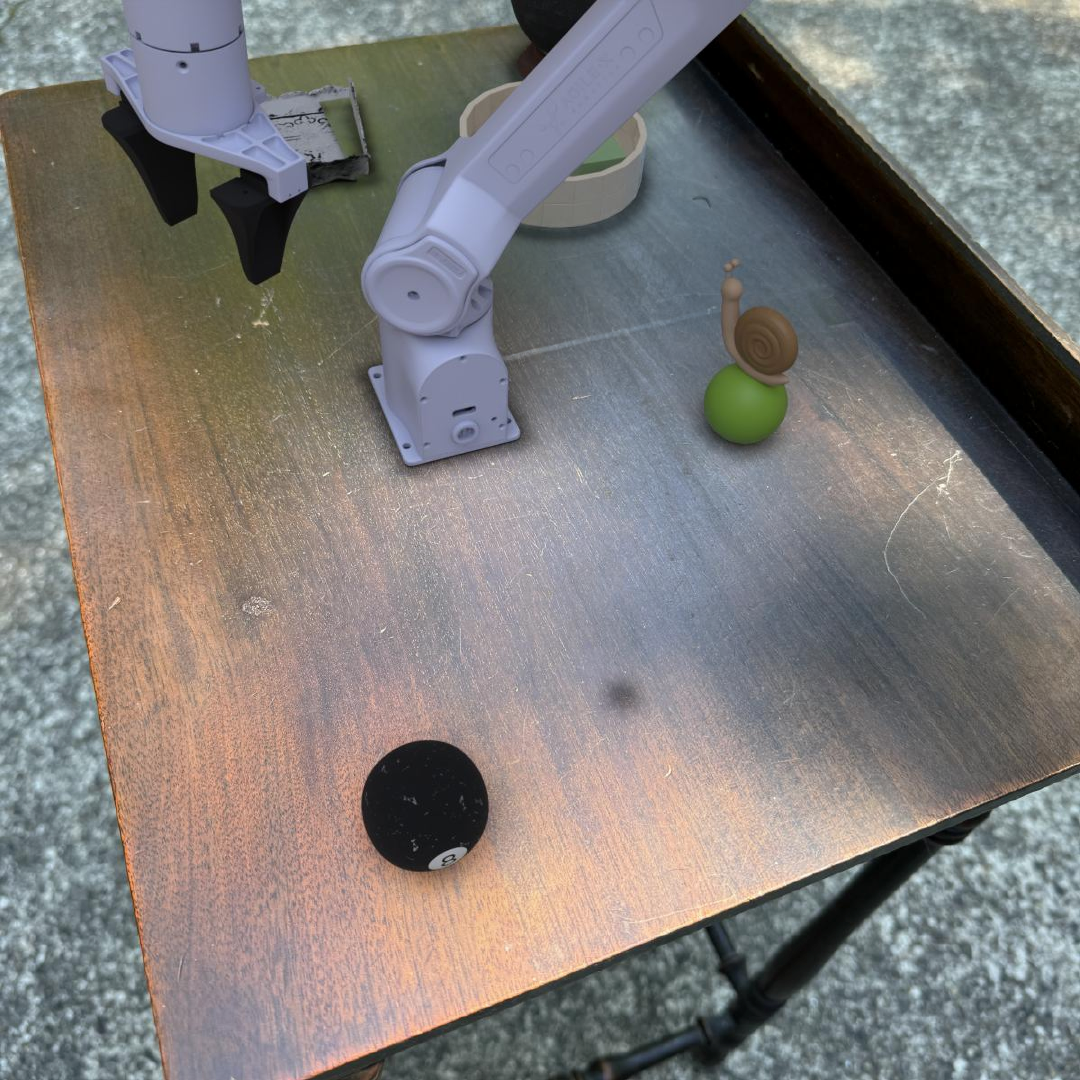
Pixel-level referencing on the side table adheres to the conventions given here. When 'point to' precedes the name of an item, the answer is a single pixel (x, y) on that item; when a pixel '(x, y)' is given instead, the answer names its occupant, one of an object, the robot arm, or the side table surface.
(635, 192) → the bowl
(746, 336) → the snail figurine
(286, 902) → the side table surface
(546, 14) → the snow globe
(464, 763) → the billiard ball
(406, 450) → the robot arm
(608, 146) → the green block
